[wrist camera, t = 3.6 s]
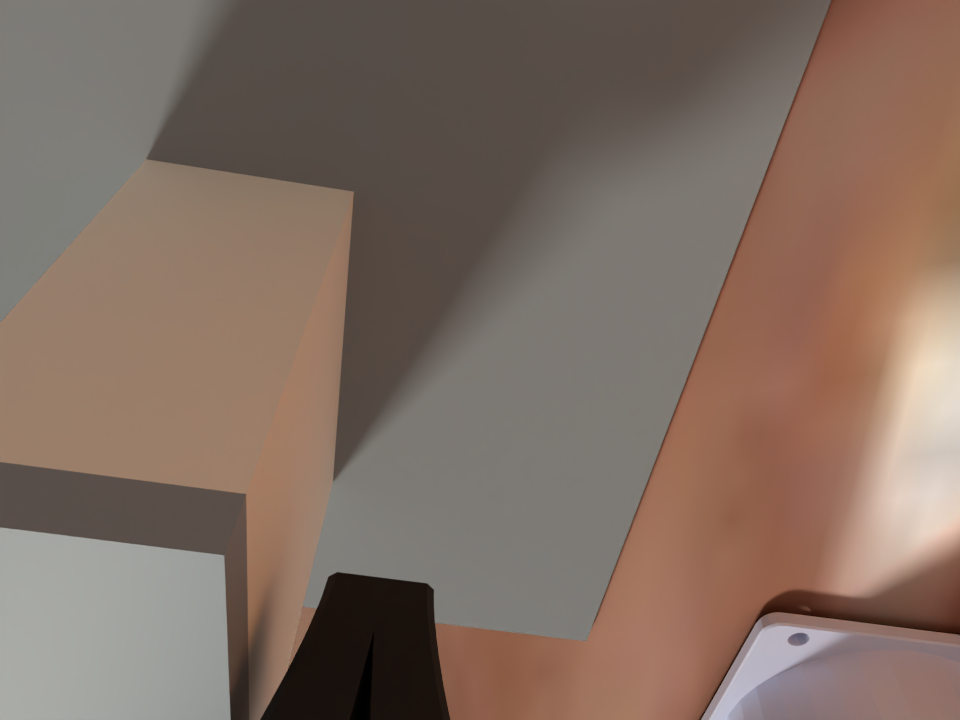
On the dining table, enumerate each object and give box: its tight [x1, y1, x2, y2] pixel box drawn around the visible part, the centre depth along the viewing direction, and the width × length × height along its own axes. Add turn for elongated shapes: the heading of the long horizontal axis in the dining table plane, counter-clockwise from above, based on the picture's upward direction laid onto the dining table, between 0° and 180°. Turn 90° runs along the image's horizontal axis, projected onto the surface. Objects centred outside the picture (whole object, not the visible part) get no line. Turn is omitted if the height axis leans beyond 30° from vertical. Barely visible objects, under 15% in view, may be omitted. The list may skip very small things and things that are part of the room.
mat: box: [0, 0, 831, 641], centre depth 16 cm, size 20×16×1 cm
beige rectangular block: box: [0, 159, 354, 720], centre depth 13 cm, size 4×7×8 cm, turn 171°
